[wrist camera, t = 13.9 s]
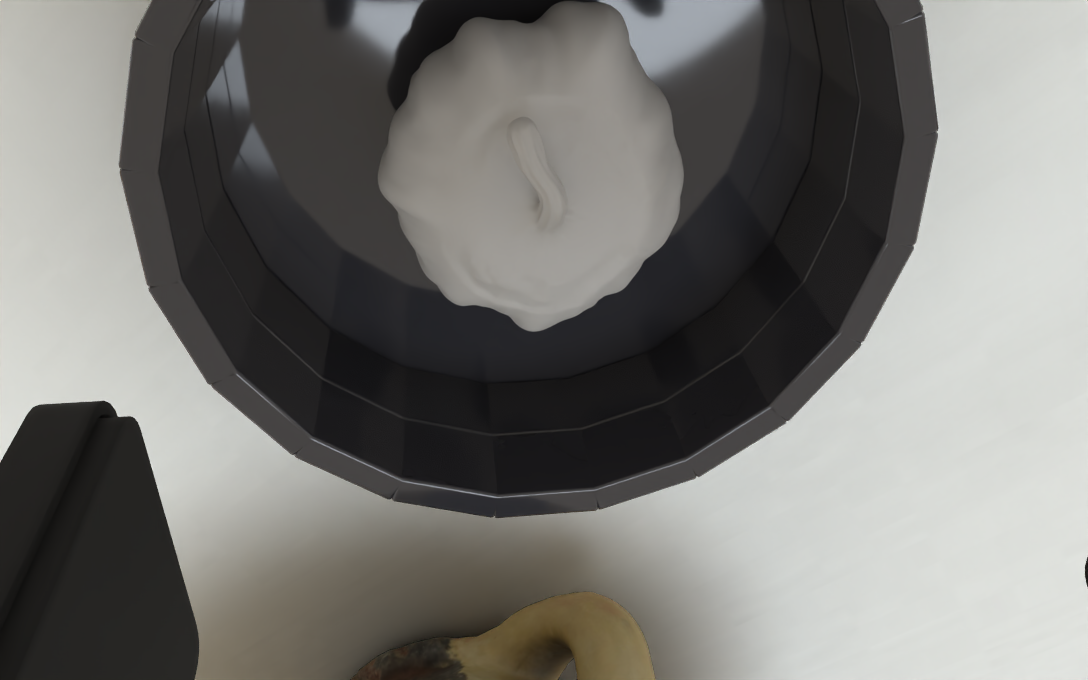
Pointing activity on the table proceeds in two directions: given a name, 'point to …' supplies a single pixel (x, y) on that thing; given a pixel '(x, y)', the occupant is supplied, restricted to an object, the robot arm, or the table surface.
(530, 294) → the garlic
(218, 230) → the grey skillet
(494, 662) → the bowl
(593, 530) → the table surface
